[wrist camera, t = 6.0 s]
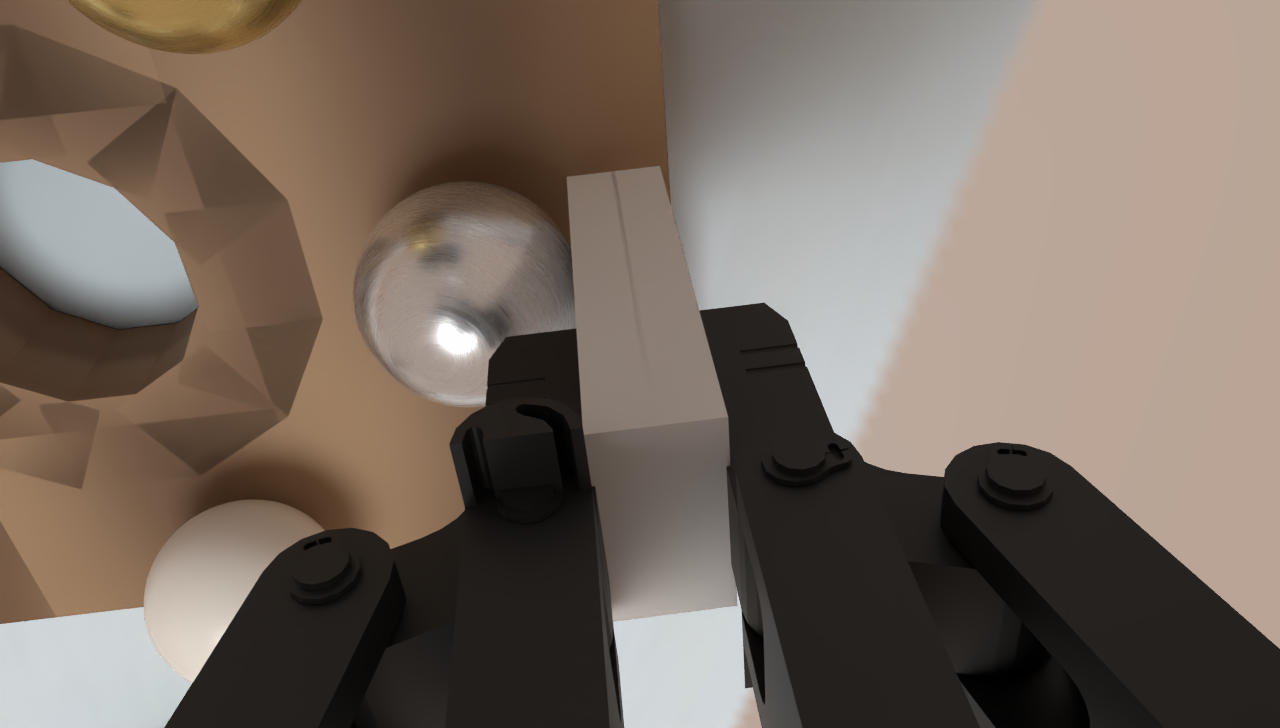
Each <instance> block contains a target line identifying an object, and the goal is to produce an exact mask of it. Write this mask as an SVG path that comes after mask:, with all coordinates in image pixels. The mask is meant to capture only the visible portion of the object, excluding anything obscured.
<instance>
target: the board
mask: <svg viewBox="0 0 1280 728" xmlns="http://www.w3.org/2000/svg"><path fill="white" fill-rule="evenodd" d="M28 159H34V160H37V161H39V162H42V163H45V164H48V165H51V166H54V167H57V168H59V169H62V170H65V171H68V172H71V173H74V174H76V175H79V176H82V177H85V178H88V179H91V180H94V181H96V182H99V183H102V184H105V185H108V186H111V187H114V188H115V189H116V190H118V191H119V192H120V193H121V194H122V195H123V196H124V197H125V198H126V199H127V200H129V201H130V202H131V203H132V204H133V205H134V206H135V207H136V208H137V209H138V210H140V211H141V212H142V213H143V214H144V215H145V216H146V217H147V218H148V219H149V220H151V221H152V222H153V223H154V224H155V225H156V226H157V227H158V228H159V229H160V230H162V231H163V232H164V233H165V234H166V235H167V236H168V237H169V238H170V239H171V240H173V241H174V242H175V244H176V247H177V250H178V252H179V255H180V258H181V260H182V263H183V266H184V268H185V271H186V274H187V276H188V279H189V282H190V284H191V287H192V290H193V292H194V295H195V298H196V300H197V303H198V309H196V310H195V311H193V312H192V313H191V314H189V315H188V316H187V317H185V318H184V319H183V320H181V321H180V322H179V323H176V324H167V325H157V326H148V327H139V328H130V329H121V330H116V329H112V328H109V327H106V326H103V325H99V324H96V323H93V322H90V321H87V320H83V319H80V318H77V317H74V316H70V315H67V314H64V313H61V312H57V311H54V310H52V309H51V308H49V307H48V306H47V305H46V304H44V303H43V302H42V301H41V300H39V299H38V298H37V297H36V296H34V295H33V294H32V293H31V292H29V291H28V290H27V289H26V288H24V287H23V286H22V285H21V284H20V283H18V282H17V281H16V280H15V279H13V278H12V277H11V276H10V275H8V274H7V273H6V272H5V271H3V270H2V269H1V268H0V624H4V623H12V622H20V621H29V620H37V619H45V618H54V617H62V616H70V615H79V614H87V613H95V612H104V611H112V610H120V609H129V608H137V607H144V592H145V586H146V581H147V577H148V575H149V572H150V569H151V567H152V564H153V562H154V560H155V558H156V556H157V555H158V553H159V551H160V550H161V548H162V547H163V545H164V544H165V543H166V542H167V540H168V539H169V538H170V537H171V536H172V535H173V534H174V532H175V531H176V530H178V529H179V528H180V527H181V526H182V525H183V524H185V523H186V522H187V521H189V520H190V519H191V518H193V517H195V516H197V515H198V514H200V513H202V512H204V511H205V510H207V509H210V508H212V507H215V506H218V505H221V504H224V503H228V502H232V501H238V500H249V499H254V500H268V501H274V502H279V503H282V504H285V505H288V506H291V507H293V508H295V509H297V510H299V511H301V512H303V513H305V514H306V515H308V516H309V517H311V518H312V519H314V520H315V521H316V522H317V523H318V524H319V525H320V526H321V527H322V528H323V529H324V530H332V529H342V528H356V529H361V530H366V531H371V532H374V533H375V534H377V535H378V536H379V537H381V538H382V539H383V540H385V541H386V542H387V543H388V544H389V547H390V549H393V548H395V547H398V546H401V545H403V544H406V543H409V542H412V541H414V540H417V539H420V538H423V537H425V536H427V535H429V534H431V533H433V532H436V531H438V530H440V529H442V528H443V527H445V526H446V525H448V524H449V523H451V522H452V521H454V520H455V519H457V518H458V517H459V516H460V515H461V514H462V513H463V512H464V511H465V506H464V502H463V498H462V494H461V490H460V486H459V482H458V478H457V474H456V470H455V466H454V462H453V458H452V454H451V450H450V446H449V444H450V441H451V439H452V436H453V434H454V432H455V429H456V428H457V427H458V426H459V425H460V424H461V423H462V422H463V421H464V420H465V419H466V418H468V417H469V416H470V415H471V414H472V413H474V412H476V411H478V410H480V409H482V408H484V407H486V406H482V407H467V408H466V407H454V406H448V405H443V404H440V403H436V402H432V401H429V400H427V399H424V398H422V397H420V396H418V395H416V394H414V393H412V392H410V391H408V390H407V389H405V388H404V387H402V386H401V385H400V384H398V383H397V382H396V381H394V380H393V379H392V378H391V377H390V376H389V375H388V374H387V373H386V372H385V371H383V369H382V368H381V367H380V366H379V365H378V364H377V362H376V361H375V360H374V358H373V357H372V355H371V354H370V352H369V350H368V348H367V346H366V344H365V342H364V340H363V339H362V337H361V334H360V331H359V328H358V326H357V321H356V317H355V312H354V306H353V282H354V273H355V269H356V265H357V261H358V258H359V255H360V252H361V250H362V248H363V245H364V243H365V241H366V240H367V238H368V236H369V234H370V233H371V231H372V230H373V228H374V227H375V225H376V224H377V223H378V222H379V221H380V220H381V219H382V218H383V217H384V216H385V215H386V213H387V212H388V211H389V210H390V209H392V208H393V207H394V206H395V205H397V204H398V203H399V202H401V201H402V200H404V199H405V198H407V197H409V196H411V195H413V194H414V193H416V192H418V191H420V190H423V189H426V188H429V187H431V186H435V185H439V184H444V183H448V182H458V181H470V182H482V183H488V184H493V185H497V186H500V187H504V188H507V189H509V190H511V191H514V192H516V193H518V194H520V195H522V196H523V197H525V198H527V199H529V200H530V201H532V202H533V203H534V204H536V205H537V206H538V207H540V208H541V209H542V210H543V211H544V212H545V213H546V214H547V215H548V216H549V217H550V218H551V219H552V220H553V221H554V222H555V224H556V225H557V226H558V227H559V228H560V230H561V231H562V233H563V234H564V236H565V237H566V239H567V241H568V243H569V245H570V247H571V237H570V221H569V205H568V190H567V177H569V176H578V175H586V174H595V173H603V172H612V171H620V170H628V169H637V168H645V167H654V166H660V168H661V172H662V176H663V180H664V183H665V187H666V191H667V194H668V198H669V202H670V186H669V170H668V154H667V138H666V122H665V106H664V90H663V74H662V58H661V42H660V26H659V10H658V0H302V1H301V3H300V4H299V5H298V6H297V8H296V9H295V10H294V12H293V13H292V14H291V15H290V16H289V17H288V18H287V19H285V20H284V21H283V22H282V23H281V24H280V25H279V26H278V27H276V28H275V29H273V30H272V31H271V32H269V33H268V34H266V35H265V36H263V37H262V38H260V39H257V40H255V41H253V42H251V43H249V44H247V45H244V46H241V47H238V48H235V49H231V50H227V51H222V52H217V53H211V54H180V53H170V52H165V51H160V50H155V49H151V48H147V47H144V46H141V45H138V44H135V43H132V42H129V41H127V40H125V39H123V38H121V37H118V36H116V35H114V34H112V33H110V32H109V31H107V30H105V29H104V28H102V27H100V26H99V25H97V24H95V23H94V22H92V21H91V20H90V19H88V18H87V17H86V16H84V15H83V14H82V13H80V12H79V11H78V10H77V9H75V8H74V7H73V6H72V5H71V4H70V3H69V2H68V1H67V0H0V162H9V161H19V160H28ZM670 205H671V202H670Z"/></svg>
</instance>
